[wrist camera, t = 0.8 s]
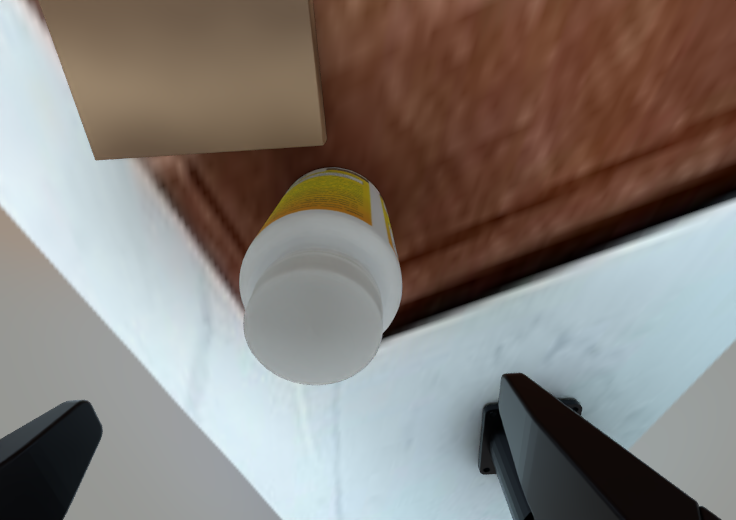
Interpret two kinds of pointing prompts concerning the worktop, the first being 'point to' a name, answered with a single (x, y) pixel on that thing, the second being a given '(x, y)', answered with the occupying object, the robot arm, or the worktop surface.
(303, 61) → the beige square slab
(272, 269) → the supplement bottle
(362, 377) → the worktop surface
